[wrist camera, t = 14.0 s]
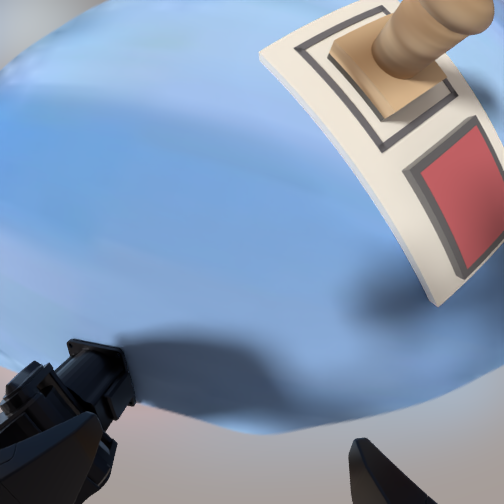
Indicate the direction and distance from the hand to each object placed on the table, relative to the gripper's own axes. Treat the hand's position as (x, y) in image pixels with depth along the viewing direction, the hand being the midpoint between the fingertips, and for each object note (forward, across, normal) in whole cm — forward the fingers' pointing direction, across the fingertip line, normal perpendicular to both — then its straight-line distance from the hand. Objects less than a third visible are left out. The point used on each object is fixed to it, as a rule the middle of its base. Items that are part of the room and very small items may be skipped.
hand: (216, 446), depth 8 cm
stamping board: (+13, -13, -13) cm, 22 cm away
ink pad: (+12, -16, -8) cm, 21 cm away
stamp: (+12, -9, -16) cm, 22 cm away
